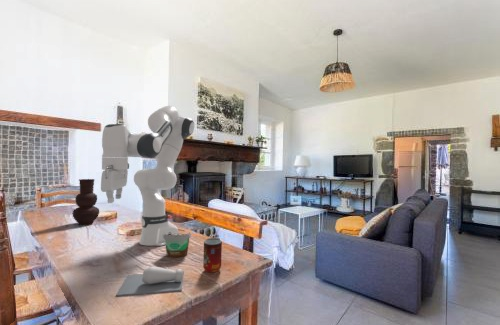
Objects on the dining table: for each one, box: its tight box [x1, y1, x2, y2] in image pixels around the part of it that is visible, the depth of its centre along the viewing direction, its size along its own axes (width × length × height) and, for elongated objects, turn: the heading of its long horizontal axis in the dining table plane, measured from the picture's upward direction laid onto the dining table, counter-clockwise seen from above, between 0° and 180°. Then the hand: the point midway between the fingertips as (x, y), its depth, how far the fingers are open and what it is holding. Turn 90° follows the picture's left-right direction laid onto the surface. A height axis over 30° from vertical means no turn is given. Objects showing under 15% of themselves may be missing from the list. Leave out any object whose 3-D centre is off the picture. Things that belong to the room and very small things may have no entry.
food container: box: [164, 232, 192, 259], centre depth 111 cm, size 12×6×10 cm, turn 105°
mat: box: [115, 270, 185, 297], centre depth 86 cm, size 20×14×1 cm
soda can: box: [203, 237, 223, 275], centre depth 97 cm, size 7×7×12 cm
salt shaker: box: [142, 266, 184, 285], centre depth 86 cm, size 6×6×13 cm
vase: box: [71, 178, 100, 226], centre depth 166 cm, size 15×15×30 cm
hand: (114, 200), depth 95 cm, fingers open, 8 cm apart
